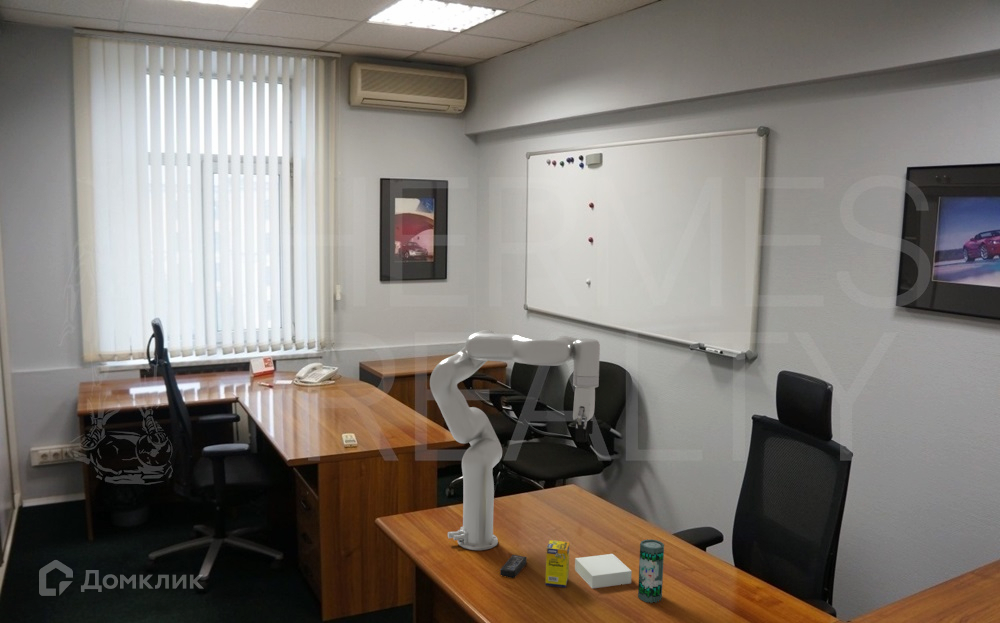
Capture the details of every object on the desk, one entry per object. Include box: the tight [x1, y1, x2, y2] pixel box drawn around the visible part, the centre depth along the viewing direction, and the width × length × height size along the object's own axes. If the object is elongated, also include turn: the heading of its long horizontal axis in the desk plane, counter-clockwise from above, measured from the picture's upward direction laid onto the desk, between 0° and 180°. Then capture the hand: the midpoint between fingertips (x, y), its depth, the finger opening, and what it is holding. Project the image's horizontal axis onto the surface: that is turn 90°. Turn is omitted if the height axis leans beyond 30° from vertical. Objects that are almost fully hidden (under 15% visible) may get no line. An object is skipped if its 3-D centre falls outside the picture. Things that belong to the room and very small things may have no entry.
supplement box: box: [544, 539, 571, 589], centre depth 215 cm, size 6×6×11 cm
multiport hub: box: [499, 554, 528, 579], centre depth 223 cm, size 4×11×2 cm, turn 159°
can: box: [637, 538, 665, 604], centre depth 207 cm, size 6×6×15 cm
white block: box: [574, 553, 633, 589], centre depth 219 cm, size 12×12×4 cm
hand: (584, 437), depth 228 cm, fingers open, 9 cm apart
